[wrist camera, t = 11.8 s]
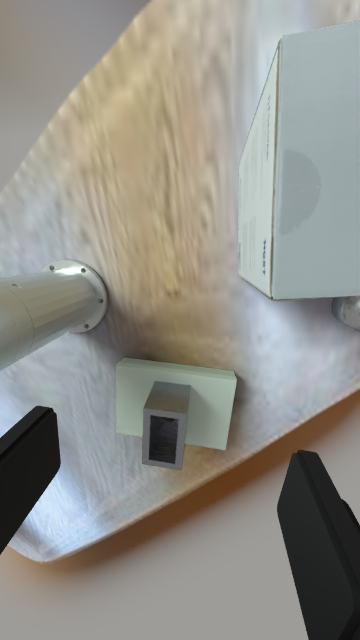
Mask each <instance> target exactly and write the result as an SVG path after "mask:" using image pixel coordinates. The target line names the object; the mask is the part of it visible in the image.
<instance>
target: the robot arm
mask: <svg viewBox="0 0 360 640" xmlns="http://www.w3.org/2000/svg"><path fill="white" fill-rule="evenodd" d="M85 269H86V271H85ZM102 300H103V301H102ZM106 309H107V293H106V289H105V286H104V284H103V282H102V280H101V279H100V277H99V276H98V275H97V273H96V272H95V271H94V270H92V269H91V268H90V267H89V266H87V265H85V264H84V263H81V262H79V261H76V260H70V259H66V260H57V261H54V262H51V263H50V264H48V265H47V266H45V267H44V269H43V270H42V271H41V272H40V273H33V274H25V275H18V276H11V277H3V278H0V371H1V370H3V369H4V368H6V367H8V366H9V365H11V364H13V363H14V362H16V361H18V360H20V359H21V358H23V357H25V356H27V355H29V354H30V353H32V352H34V351H36V350H37V349H39V348H41V347H43V346H44V345H46V344H48V343H49V342H51V341H53V340H55V339H56V338H58V337H60V336H62V335H63V334H65V333H67V332H72V333H80V332H85V331H88V330H90V329H92V328H93V327H95V326H96V325H97V324H99V323H100V321H101V320H102V319H103V317H104V315H105V313H106ZM60 464H61V460H60V449H59V437H58V426H57V415H56V413H55V412H54V411H53V409H52V408H49V407H43V406H36V407H35V408H33V409H32V410H31V411H30V412H29V413H28V414H27V415H25V416H24V417H23V418H22V419H21V420H20V421H19V422H18V423H16V424H15V425H14V426H13V427H12V428H11V429H10V430H9V431H7V432H6V433H5V434H4V435H3V436H2V437H1V438H0V554H1V553H2V552H3V550H4V549H5V547H6V546H7V544H8V543H9V541H10V540H11V539H12V537H13V536H14V534H15V533H16V531H17V530H18V528H19V527H20V526H21V524H22V523H23V521H24V520H25V518H26V517H27V515H28V514H29V513H30V511H31V510H32V508H33V507H34V505H35V504H36V502H37V501H38V500H39V498H40V497H41V495H42V494H43V492H44V491H45V489H46V488H47V487H48V485H49V484H50V482H51V481H52V479H53V478H54V477H55V475H56V474H57V472H58V470H59V468H60ZM277 512H278V518H279V522H280V526H281V530H282V534H283V538H284V542H285V546H286V550H287V554H288V558H289V562H290V566H291V570H292V574H293V578H294V582H295V586H296V590H297V594H298V598H299V602H300V606H301V610H302V615H303V618H304V623H305V626H306V631H307V635H308V638H309V640H360V525H359V523H358V521H357V519H356V518H355V516H354V514H353V512H352V510H351V508H350V507H349V505H348V504H347V503H346V502H345V501H344V500H342V499H341V498H340V496H339V494H338V492H337V490H336V488H335V486H334V484H333V482H332V480H331V478H330V476H329V475H328V473H327V471H326V469H325V467H324V465H323V463H322V461H321V459H320V457H319V456H318V454H317V453H315V452H310V451H304V450H298V451H297V454H296V453H293V454H292V457H291V460H290V464H289V467H288V470H287V474H286V477H285V481H284V484H283V488H282V491H281V494H280V498H279V501H278V505H277Z"/></svg>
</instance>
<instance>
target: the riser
mask: <svg viewBox="0 0 360 640" xmlns="http://www.w3.org/2000/svg"><path fill="white" fill-rule="evenodd" d="M155 381H161V382H168V383H176V384H184V385H191V390H190V400H189V411H188V422H187V433H186V441H185V444H189V445H196V446H202V447H208V448H215V449H221V450H226V444H227V438H228V432H229V426H230V420H231V413H232V407H233V401H234V395H235V388H236V382H237V379H236V377H235V374H234V371H231V370H223V369H215V368H207V367H198V366H190V365H182V364H174V363H166V362H158V361H150V360H142V359H134V358H125V357H124V358H123V359H122V360H121V361H120V362H117V363H116V365H115V389H116V433H120V434H126V435H132V436H139V437H143V408H144V405H145V403H146V401H147V398H148V396H149V394H150V391H151V389H152V387H153V384H154V382H155Z"/></svg>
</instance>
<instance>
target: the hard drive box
mask: <svg viewBox="0 0 360 640" xmlns="http://www.w3.org/2000/svg"><path fill="white" fill-rule="evenodd" d="M238 275H239V276H241V277H242V278H243V279H245V280H246V281H247V282H249V283H250V284H251V285H252V286H254V287H255V288H256V289H258V290H259V291H261V293H263V294H264V295H265V296H266V297H268V298H269V299H271V300H272V301H288V300H303V299H319V298H333V297H346V296H360V21H355V22H350V23H345V24H340V25H335V26H330V27H325V28H320V29H315V30H310V31H305V32H300V33H295V34H290V35H284V36H282V38H281V39H280V40H279V42H278V45H277V48H276V52H275V55H274V58H273V61H272V64H271V67H270V70H269V73H268V77H267V80H266V83H265V86H264V88H263V91H262V94H261V97H260V101H259V104H258V107H257V110H256V113H255V116H254V119H253V122H252V125H251V128H250V131H249V134H248V137H247V140H246V143H245V146H244V150H243V153H242V156H241V159H240V162H239V208H238Z"/></svg>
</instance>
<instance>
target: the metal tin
mask: <svg viewBox="0 0 360 640" xmlns="http://www.w3.org/2000/svg"><path fill="white" fill-rule="evenodd" d="M332 311H333V314H334V316H335V317H336V318H337V319H338V320H339V321H341V322H343V323H344V324H346V325H348V326H350V327H352V328H354V329H355V330H358V331H360V296H346V297H335V298H334V300H333V303H332Z"/></svg>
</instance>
